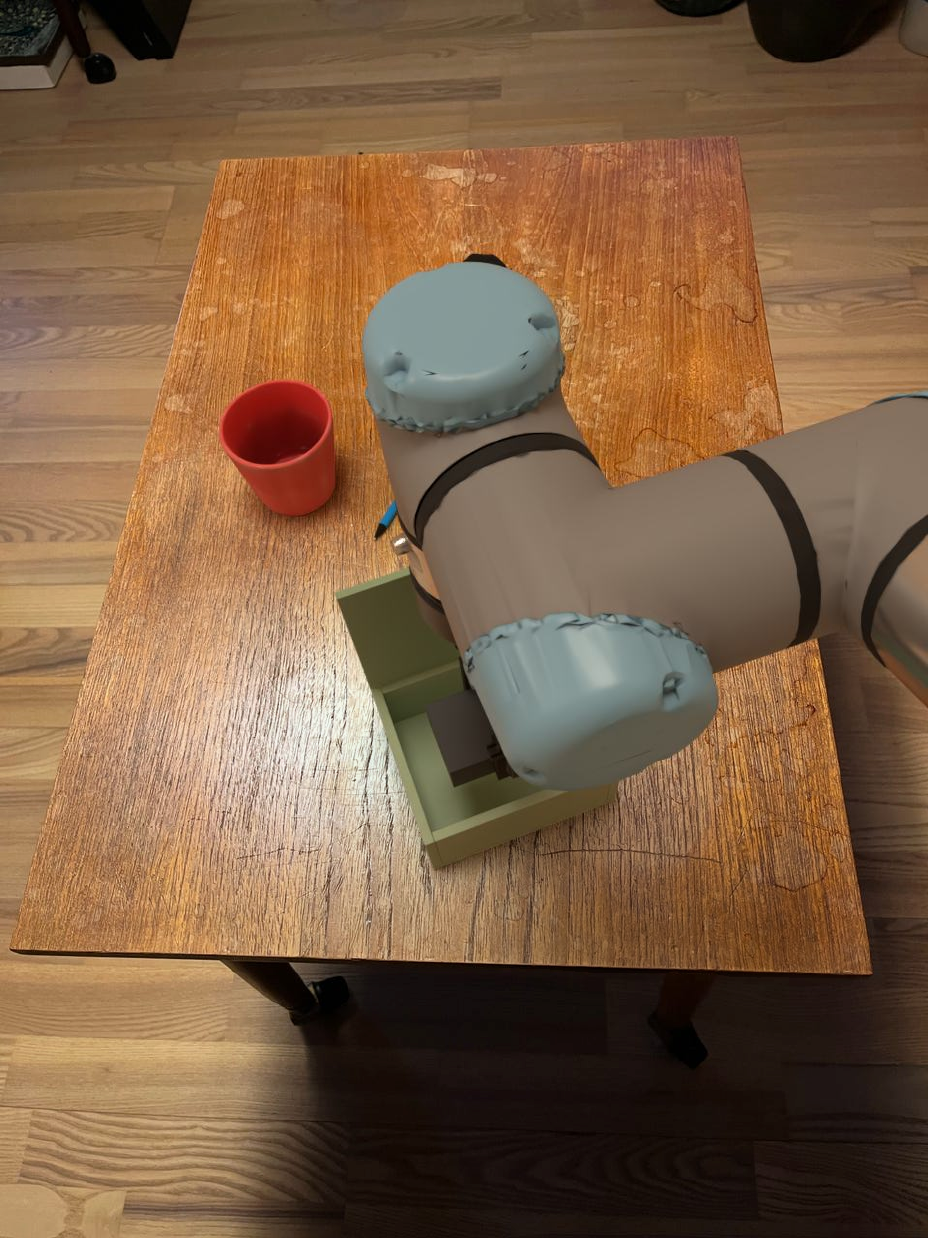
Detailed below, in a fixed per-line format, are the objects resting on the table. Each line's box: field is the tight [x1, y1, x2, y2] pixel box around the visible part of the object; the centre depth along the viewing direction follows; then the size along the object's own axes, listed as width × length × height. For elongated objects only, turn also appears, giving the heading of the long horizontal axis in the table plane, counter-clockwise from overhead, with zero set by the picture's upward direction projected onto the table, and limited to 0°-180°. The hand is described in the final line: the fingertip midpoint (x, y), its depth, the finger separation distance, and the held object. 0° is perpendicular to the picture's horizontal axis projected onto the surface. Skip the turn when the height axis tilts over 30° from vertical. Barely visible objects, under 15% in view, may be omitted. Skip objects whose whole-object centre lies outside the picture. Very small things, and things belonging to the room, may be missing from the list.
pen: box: [373, 498, 397, 540], centre depth 92 cm, size 1×19×1 cm, turn 154°
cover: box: [334, 566, 461, 690], centre depth 67 cm, size 14×16×1 cm
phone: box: [425, 688, 495, 787], centre depth 65 cm, size 6×9×3 cm, turn 110°
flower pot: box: [218, 378, 336, 517], centre depth 88 cm, size 11×11×10 cm
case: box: [370, 658, 620, 871], centre depth 73 cm, size 14×16×7 cm
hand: (498, 731), depth 66 cm, fingers closed on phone, 5 cm apart
